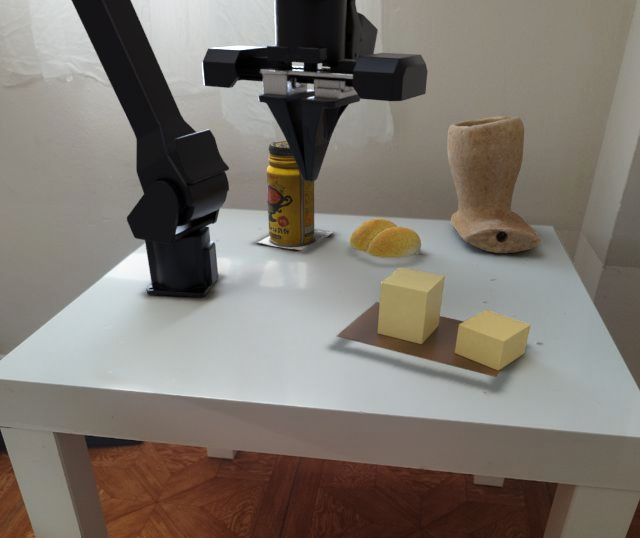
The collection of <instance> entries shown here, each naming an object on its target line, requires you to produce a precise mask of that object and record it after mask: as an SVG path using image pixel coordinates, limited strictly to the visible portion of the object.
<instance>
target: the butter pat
mask: <svg viewBox="0 0 640 538" xmlns="http://www.w3.org/2000/svg"><path fill="white" fill-rule="evenodd" d="M531 327H532V326H531V324H530V323H528V322H527V323H526V322H524V321H521V320H519V319H515V318H513V317H510V316H506V315H504V314H500V313H497V312H494V311H492V310H489V309H485V310H483V311H480V312H479V313H477V314H475V315H474V316H472V317H470V318H468V319H466V320H465V321H464V322H463V323H461V324H459V328H458V334H457V341H456V347H455V354H458V355H460V356H463V357H465V358H468V359H470V360H473V361H475V362H478V363H480V364H483V365H485V366H488V367H490V368H493V369H495V370H498V371H499V370H500V369H501V370H503V368H505V367H506V366H508V365H510V364H511V363H512V362H514V361H515V360H517V359H518V358H520V357H521V356H523V355H524V354H525V352H526V348H527V344H528V339H529V334H530V330H531Z"/></svg>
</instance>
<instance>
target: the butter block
mask: <svg viewBox="0 0 640 538" xmlns="http://www.w3.org/2000/svg"><path fill="white" fill-rule="evenodd" d="M445 278H446V276H445V275H442V274H437V273H432V272H426V271H422V270H417V269H410V268H408V267H402V266H400V267H398V268H397V269H396V270H395V271H394V272H392V273H391V274H390V275H388V276H387V277H385V279H384V280H383V281H381V282H380V293H379V302H380V306H379V320H378V334H382V335H386V336H390V337H394V338H398V339H402V340H406V341H410V342H414V343H418V344H422V343H423V342H424V341H425V340H426V339H427V338H428V337H429V336H430V335H431V334H432V332H433V331H434V330H435V329H436V328H437V327H438V325H439V318H440V316H441V311H442V304H443V303H442V302H443V294H444V288H445V281H446V280H445Z"/></svg>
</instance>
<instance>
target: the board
mask: <svg viewBox="0 0 640 538" xmlns="http://www.w3.org/2000/svg"><path fill="white" fill-rule="evenodd" d="M379 306H380V301H375V302H374V303H373V304H372V305H370V306H369V307H368V308H367V309H366V310H365V311H363V313H361V314H360V315H358V316H357V318H355V319H354V320H353V321H352V322H351V323H349V324H348V325H347V326H345V328H344V329H342V330H341V331H340V332H339V333H338V334H336V337H337V338H342V339H345V340H350V341H354V342H357V343H360V344H361V343H362V344H364V345H369V346H372V347H377V348H381V349H384V350H389V351H392V352H396V353H400V354H404V355H407V356H412V357H415V358H420V359H422V360H423V359H424V360H427V361H432V362H435V363H439V364H443V365H447V366H450V367H455V368H458V369H463V370H466V371H470V372H474V373H478V374H483V375H485V376H490V377H493V378H497V377H498V376H499V374H500V372H501V371H502V369H500V370H499V371H498V370H495V369H493V368H490V367H488V366H485V365H483V364H480V363H478V362H475V361H473V360H470V359H468V358H465V357H463V356H460V355H458V354H455V347H456V341H457V334H458V328H459V324H461V323H463V322H465V321H464V320H460V319H459V320H458V319H455V318H450V317H446V316H442V315H440V318H439V325H438V327H437V328H436V329H435V330H434V331H433V332H432V334H431V335H430V336H429V337H428V338H427V339H426V340H425V341H424V342H423V343H422V344H418V343H414V342H410V341H406V340H402V339H398V338H394V337H390V336H386V335H382V334H378V320H379Z"/></svg>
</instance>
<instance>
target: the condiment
mask: <svg viewBox="0 0 640 538" xmlns="http://www.w3.org/2000/svg"><path fill="white" fill-rule="evenodd" d="M266 195H267V196H266V197H267V200H266V201H267V214H268V215H267V218H268V219H267V220H268V221H267V222H268V236H266V237H264V238H263V239H261V240H259V241H256V243H258V244H263V245H267V246H271V247H276V248H283V249H288V250H298V251H302V250H304V249H306V248H307V247H309V246H311V245H312V244H314V243H316V242H317V241H319V240H321V239H323V238H328V237H329V236H330V235H331V234H333V233H334V231H325V230H316V229H315V181H313V182H309V181H305V180H304V179H303V177H302V175H301V172H300V170H299V168H298V165H297V163H296V161H295V159H294V156H293V154H292V152H291V150H290V147H289V145H288V143H287V141H286V140H277V141H273V142H271V143H269V146H268V166H267V168H266Z"/></svg>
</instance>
